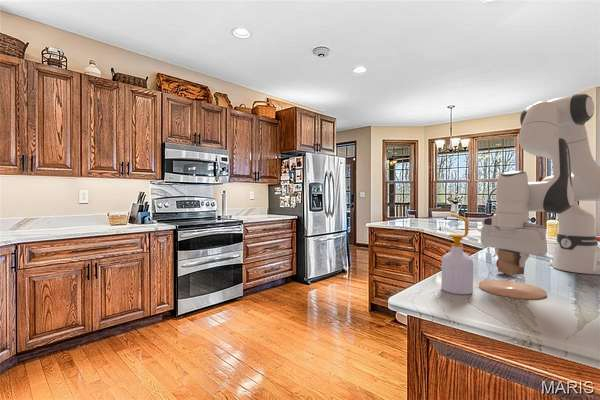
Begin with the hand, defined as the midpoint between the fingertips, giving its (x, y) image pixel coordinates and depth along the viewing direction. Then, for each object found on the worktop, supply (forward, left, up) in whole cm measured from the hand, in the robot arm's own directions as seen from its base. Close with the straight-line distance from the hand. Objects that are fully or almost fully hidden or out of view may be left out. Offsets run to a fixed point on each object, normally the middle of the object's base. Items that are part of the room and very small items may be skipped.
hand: (511, 264), depth 102 cm
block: (0, 0, -3) cm, 3 cm away
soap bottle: (+17, -5, -9) cm, 20 cm away
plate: (0, 0, -8) cm, 8 cm away
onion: (-17, -16, -9) cm, 25 cm away
